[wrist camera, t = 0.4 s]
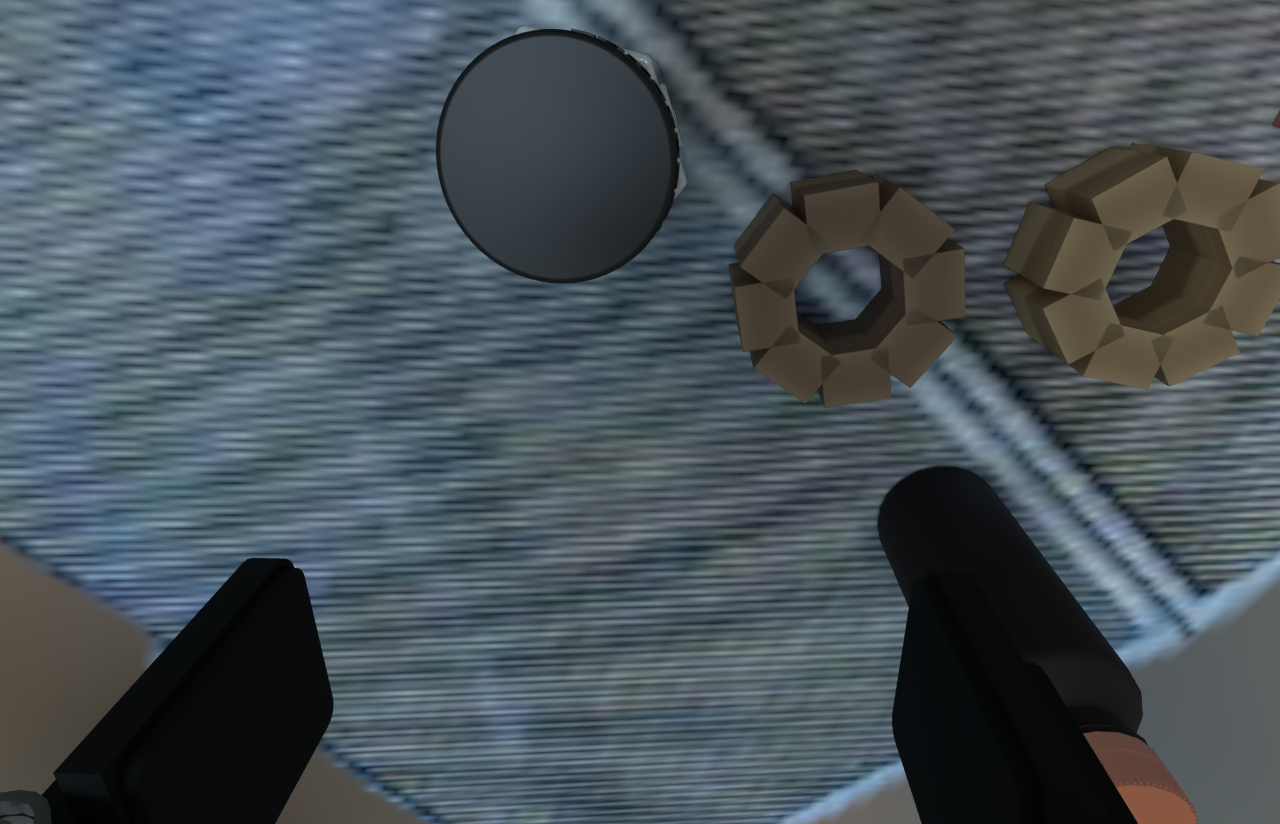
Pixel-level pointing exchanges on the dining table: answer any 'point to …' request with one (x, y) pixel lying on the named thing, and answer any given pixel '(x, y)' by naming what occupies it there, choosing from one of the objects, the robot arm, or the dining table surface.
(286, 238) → the dining table surface
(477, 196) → the jar
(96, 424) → the dining table surface
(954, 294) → the bead
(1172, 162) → the bead
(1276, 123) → the reddish brown square stick
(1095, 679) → the bottle
